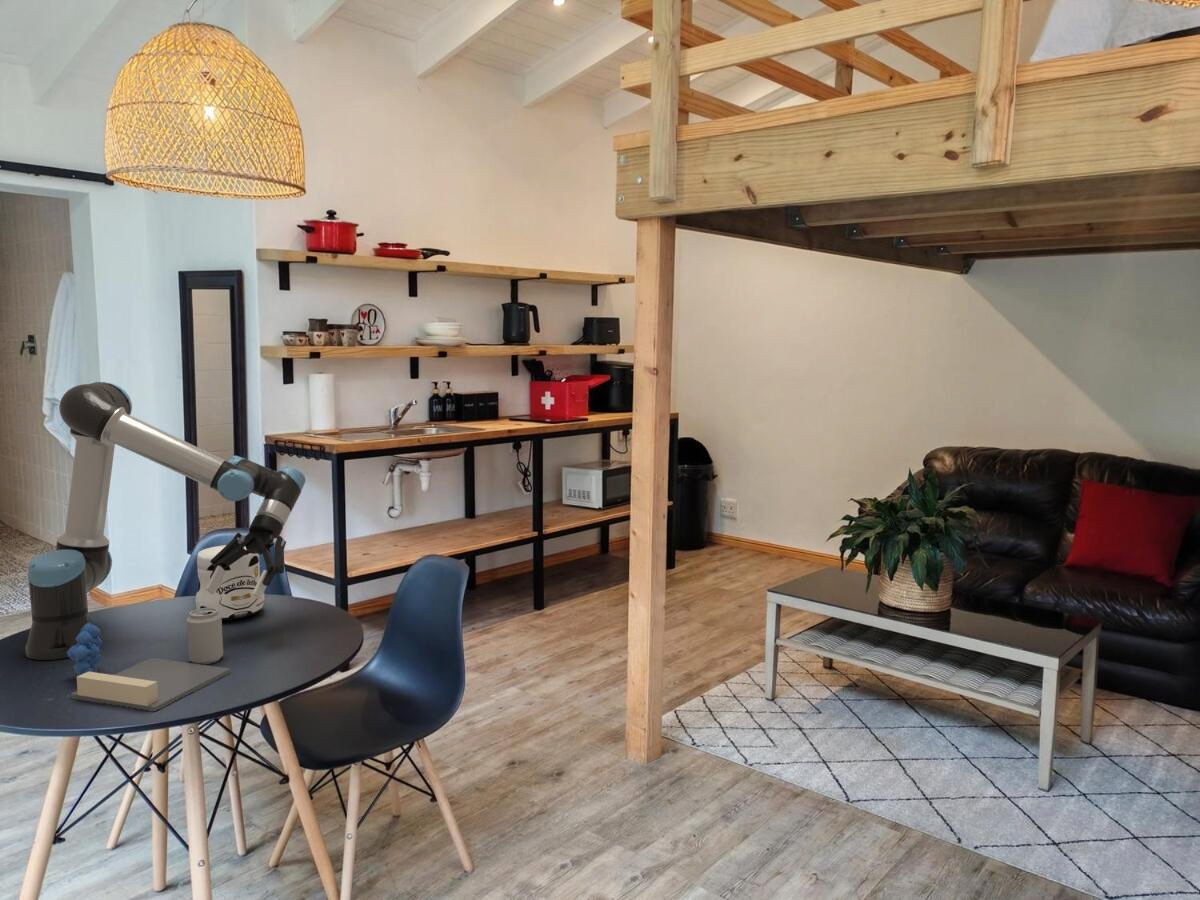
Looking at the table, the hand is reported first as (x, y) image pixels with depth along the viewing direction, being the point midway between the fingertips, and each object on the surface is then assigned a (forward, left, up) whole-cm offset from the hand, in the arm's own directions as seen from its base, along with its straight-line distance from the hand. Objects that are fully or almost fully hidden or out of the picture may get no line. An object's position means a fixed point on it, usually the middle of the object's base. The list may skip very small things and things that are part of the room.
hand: (232, 594), depth 214 cm
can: (-1, -9, -14) cm, 17 cm away
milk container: (-19, +21, -14) cm, 31 cm away
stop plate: (-1, -25, -13) cm, 28 cm away
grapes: (-19, -26, -14) cm, 35 cm away
